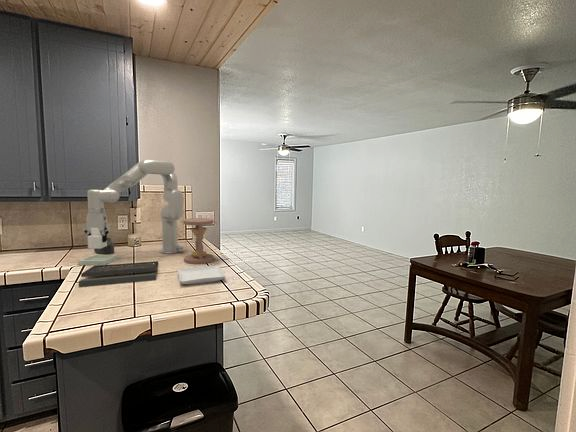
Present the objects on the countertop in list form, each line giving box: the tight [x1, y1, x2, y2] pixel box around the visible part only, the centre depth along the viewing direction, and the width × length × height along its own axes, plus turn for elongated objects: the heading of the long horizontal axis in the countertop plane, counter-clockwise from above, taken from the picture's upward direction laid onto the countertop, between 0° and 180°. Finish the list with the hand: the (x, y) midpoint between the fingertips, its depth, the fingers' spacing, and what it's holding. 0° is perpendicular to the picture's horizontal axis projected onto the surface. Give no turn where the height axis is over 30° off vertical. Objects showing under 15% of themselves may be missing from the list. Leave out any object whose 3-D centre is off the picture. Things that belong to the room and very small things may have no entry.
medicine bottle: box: [86, 228, 107, 250], centre depth 172 cm, size 7×7×12 cm
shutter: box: [78, 260, 159, 288], centre depth 154 cm, size 32×7×31 cm
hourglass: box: [182, 217, 215, 265], centre depth 182 cm, size 18×18×25 cm
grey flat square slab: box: [177, 265, 226, 285], centre depth 150 cm, size 21×21×3 cm
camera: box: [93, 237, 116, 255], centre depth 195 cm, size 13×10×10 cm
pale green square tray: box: [77, 254, 118, 266], centre depth 174 cm, size 14×14×2 cm
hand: (97, 241), depth 173 cm, fingers closed on medicine bottle, 7 cm apart
